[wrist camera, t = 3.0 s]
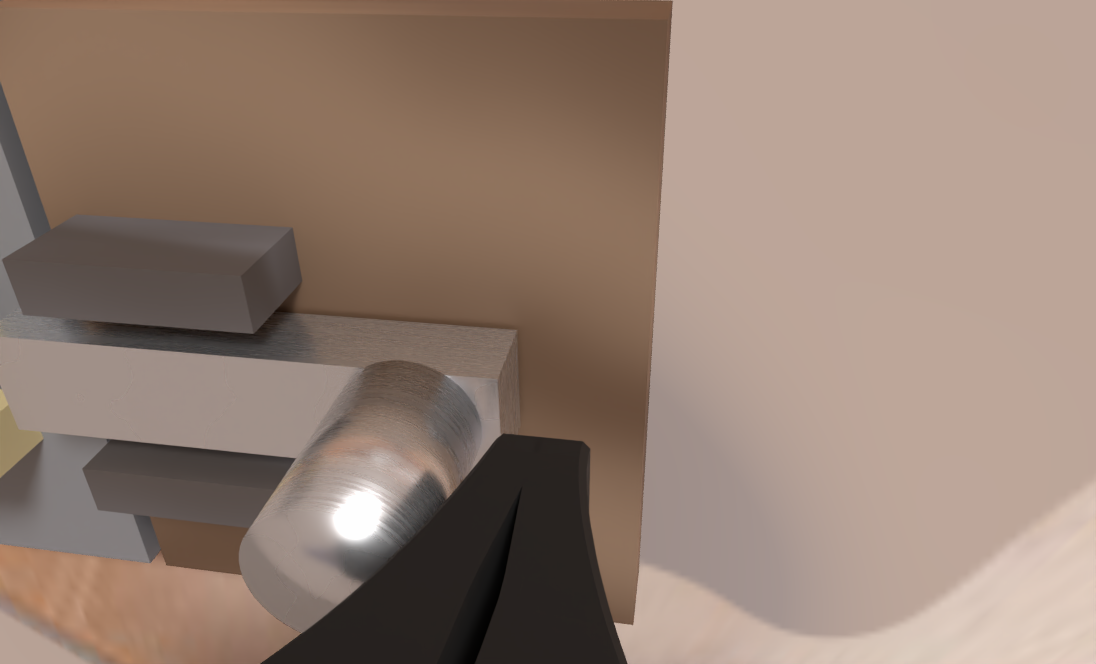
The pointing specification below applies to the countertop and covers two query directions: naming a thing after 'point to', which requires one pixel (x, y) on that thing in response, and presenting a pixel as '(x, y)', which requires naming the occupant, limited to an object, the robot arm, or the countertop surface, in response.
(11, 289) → the jamb keeper
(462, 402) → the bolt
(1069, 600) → the countertop surface
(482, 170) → the door panel
